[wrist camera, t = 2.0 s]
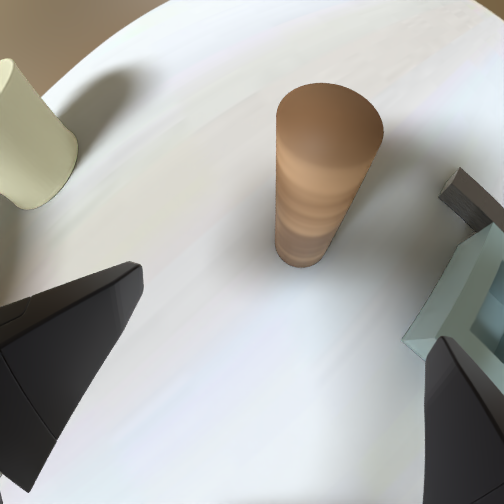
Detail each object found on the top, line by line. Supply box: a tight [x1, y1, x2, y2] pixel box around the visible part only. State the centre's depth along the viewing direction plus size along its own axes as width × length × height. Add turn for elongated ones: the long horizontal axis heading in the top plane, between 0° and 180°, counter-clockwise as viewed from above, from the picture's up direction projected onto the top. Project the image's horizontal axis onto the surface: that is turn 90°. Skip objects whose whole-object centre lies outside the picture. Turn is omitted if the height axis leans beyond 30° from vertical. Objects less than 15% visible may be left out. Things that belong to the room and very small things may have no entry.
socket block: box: [401, 222, 504, 395], centre depth 17 cm, size 9×9×5 cm
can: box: [0, 58, 78, 210], centre depth 20 cm, size 9×9×12 cm
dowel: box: [275, 83, 384, 268], centre depth 16 cm, size 4×4×13 cm
